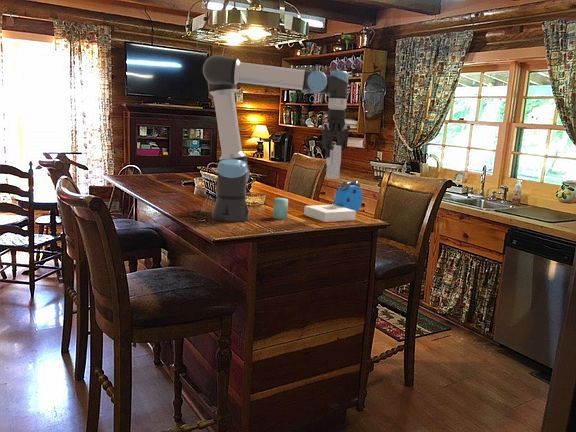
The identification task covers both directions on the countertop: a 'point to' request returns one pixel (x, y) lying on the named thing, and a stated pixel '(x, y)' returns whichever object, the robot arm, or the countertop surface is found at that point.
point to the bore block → (329, 213)
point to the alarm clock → (349, 195)
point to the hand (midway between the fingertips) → (333, 165)
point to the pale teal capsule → (280, 208)
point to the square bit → (334, 163)
